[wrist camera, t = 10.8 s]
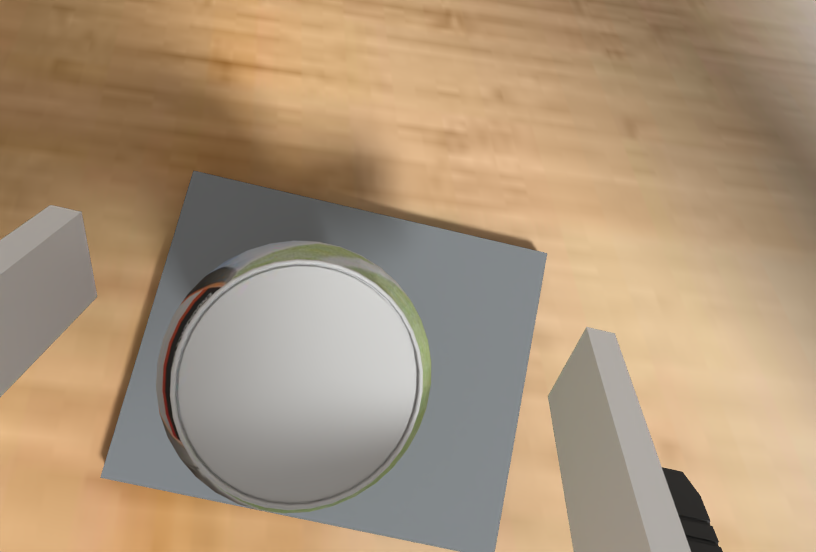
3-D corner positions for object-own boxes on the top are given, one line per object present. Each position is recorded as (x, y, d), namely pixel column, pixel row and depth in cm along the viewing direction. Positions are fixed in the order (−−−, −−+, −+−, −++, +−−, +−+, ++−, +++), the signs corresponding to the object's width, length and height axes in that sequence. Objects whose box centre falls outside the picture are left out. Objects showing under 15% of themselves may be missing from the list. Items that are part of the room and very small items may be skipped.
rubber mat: (541, 256, 24) (547, 253, 23) (488, 551, 22) (493, 558, 21) (199, 177, 23) (193, 170, 22) (110, 472, 21) (100, 477, 20)
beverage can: (254, 257, 22) (126, 152, 10) (419, 307, 22) (483, 261, 10) (204, 403, 21) (-3, 476, 9) (377, 452, 21) (396, 585, 9)
